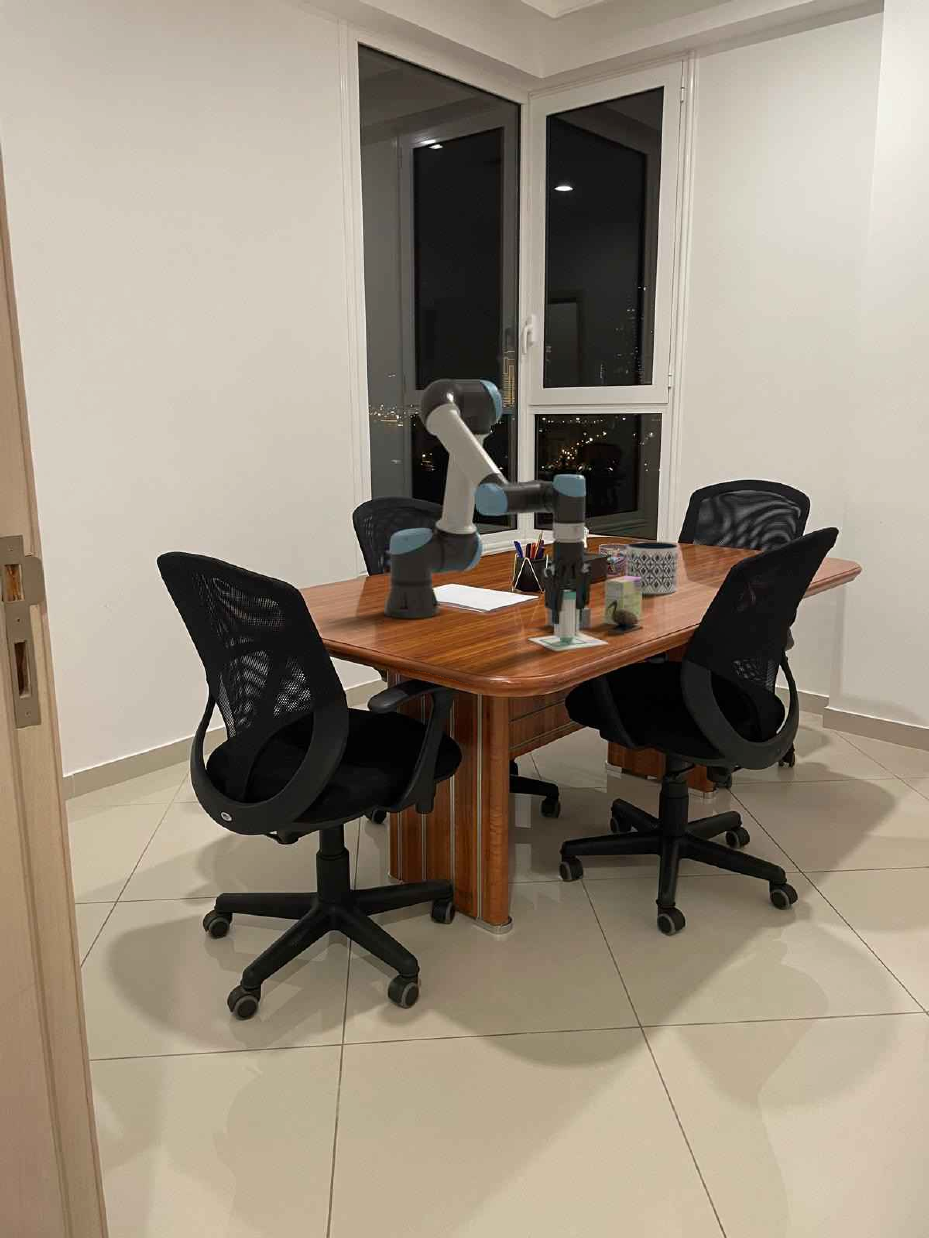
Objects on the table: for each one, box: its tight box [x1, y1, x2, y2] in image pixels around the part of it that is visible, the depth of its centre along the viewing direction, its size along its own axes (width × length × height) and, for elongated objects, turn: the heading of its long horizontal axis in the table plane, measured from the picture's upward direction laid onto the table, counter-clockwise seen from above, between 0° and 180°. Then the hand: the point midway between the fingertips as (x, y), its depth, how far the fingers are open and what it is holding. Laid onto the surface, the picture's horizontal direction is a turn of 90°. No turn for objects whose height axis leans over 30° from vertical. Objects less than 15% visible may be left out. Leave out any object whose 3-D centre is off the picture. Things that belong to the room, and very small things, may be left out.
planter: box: [625, 541, 679, 595], centre depth 301 cm, size 16×16×14 cm
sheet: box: [528, 632, 610, 652], centre depth 234 cm, size 15×13×1 cm
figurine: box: [606, 601, 644, 636], centre depth 245 cm, size 14×4×9 cm, turn 138°
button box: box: [547, 606, 592, 630], centre depth 251 cm, size 8×8×5 cm
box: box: [603, 575, 643, 626], centre depth 256 cm, size 10×6×12 cm, turn 141°
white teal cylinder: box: [560, 589, 576, 642], centre depth 231 cm, size 4×4×12 cm
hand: (566, 635), depth 233 cm, fingers closed on white teal cylinder, 4 cm apart
